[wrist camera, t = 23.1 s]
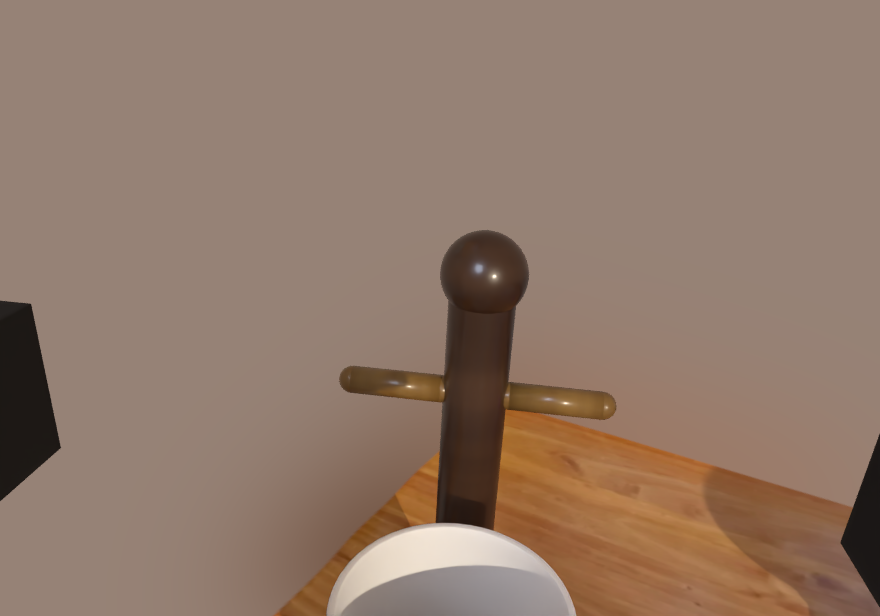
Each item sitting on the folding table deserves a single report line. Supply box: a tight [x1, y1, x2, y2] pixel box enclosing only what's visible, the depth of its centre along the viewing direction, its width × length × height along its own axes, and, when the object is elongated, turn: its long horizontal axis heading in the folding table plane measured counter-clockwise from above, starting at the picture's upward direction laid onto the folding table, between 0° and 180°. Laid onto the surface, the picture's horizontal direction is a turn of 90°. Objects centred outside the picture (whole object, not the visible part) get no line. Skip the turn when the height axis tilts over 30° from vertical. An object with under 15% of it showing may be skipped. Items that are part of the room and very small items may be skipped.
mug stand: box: [339, 230, 616, 531], centre depth 26 cm, size 14×12×24 cm
